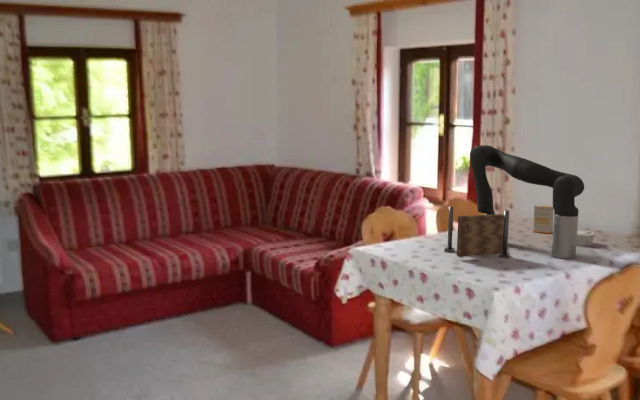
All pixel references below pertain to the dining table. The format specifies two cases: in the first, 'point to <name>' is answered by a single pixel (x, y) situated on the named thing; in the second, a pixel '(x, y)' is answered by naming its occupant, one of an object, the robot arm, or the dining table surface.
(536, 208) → the supplement box
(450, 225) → the gate frame
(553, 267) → the dining table surface
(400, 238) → the dining table surface
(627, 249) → the dining table surface
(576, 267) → the dining table surface
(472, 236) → the gate
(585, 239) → the ramekin
